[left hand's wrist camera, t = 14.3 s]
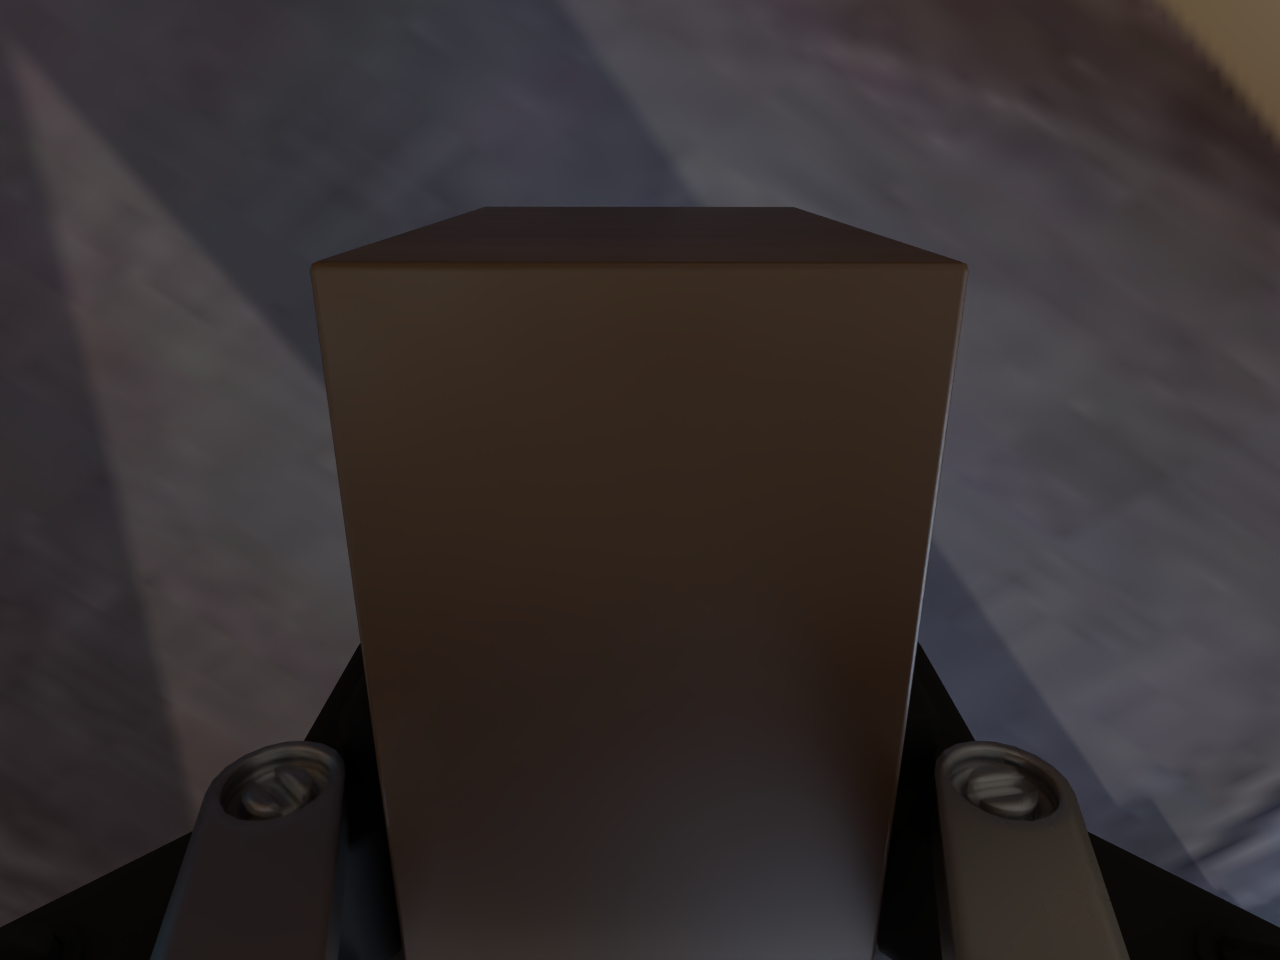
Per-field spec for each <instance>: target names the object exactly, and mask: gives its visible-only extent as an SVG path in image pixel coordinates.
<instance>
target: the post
mask: <svg viewBox="0 0 1280 960" xmlns="http://www.w3.org/2000/svg"><path fill="white" fill-rule="evenodd" d="M968 272H969V271H968V267H967V264H965V263H962V262H960V261H957V260H954V259H951V258H948V257H945V256H942V255H939V254H936V253H933V252H929V251H926V250H923V249H920V248H917V247H914V246H911V245H908V244H905V243H902V242H899V241H896V240H893V239H890V238H887V237H884V236H881V235H877V234H874V233H871V232H868V231H865V230H862V229H859V228H856V227H853V226H850V225H847V224H844V223H841V222H838V221H835V220H832V219H829V218H825V217H822V216H819V215H816V214H813V213H810V212H807V211H804V210H801V209H798V208H795V207H483V208H480V209H477V210H474V211H471V212H468V213H465V214H462V215H459V216H456V217H453V218H449V219H446V220H443V221H440V222H437V223H434V224H431V225H428V226H425V227H422V228H419V229H415V230H412V231H409V232H406V233H403V234H400V235H397V236H394V237H391V238H388V239H385V240H382V241H378V242H375V243H372V244H369V245H366V246H363V247H360V248H357V249H354V250H351V251H348V252H344V253H341V254H338V255H335V256H332V257H329V258H326V259H323V260H320V261H317V262H315V263H313V264H312V265H311V269H310V274H311V281H312V289H313V296H314V303H315V311H316V318H317V326H318V333H319V340H320V348H321V355H322V362H323V370H324V377H325V384H326V392H327V399H328V406H329V414H330V421H331V428H332V436H333V443H334V450H335V458H336V465H337V472H338V480H339V487H340V494H341V502H342V509H343V517H344V524H345V531H346V539H347V546H348V553H349V561H350V568H351V575H352V583H353V590H354V597H355V605H356V612H357V619H358V627H359V634H360V641H361V649H362V656H363V663H364V671H365V678H366V685H367V693H368V700H369V707H370V715H371V722H372V730H373V737H374V744H375V752H376V759H377V766H378V774H379V781H380V788H381V796H382V803H383V810H384V818H385V825H386V832H387V840H388V847H389V854H390V862H391V869H392V876H393V884H394V891H395V898H396V906H397V913H398V921H399V928H400V935H401V943H402V950H403V957H404V960H874V956H875V948H876V941H877V934H878V926H879V919H880V912H881V905H882V897H883V890H884V883H885V876H886V868H887V861H888V854H889V846H890V839H891V832H892V825H893V817H894V810H895V803H896V796H897V788H898V781H899V774H900V766H901V759H902V752H903V745H904V737H905V730H906V723H907V716H908V708H909V701H910V694H911V686H912V679H913V672H914V665H915V657H916V650H917V643H918V635H919V628H920V621H921V614H922V606H923V599H924V592H925V585H926V577H927V570H928V563H929V555H930V548H931V541H932V534H933V526H934V519H935V512H936V505H937V497H938V490H939V483H940V475H941V468H942V461H943V454H944V446H945V439H946V432H947V425H948V417H949V410H950V403H951V395H952V388H953V381H954V374H955V366H956V359H957V352H958V345H959V337H960V330H961V323H962V315H963V308H964V301H965V294H966V286H967V279H968Z"/></svg>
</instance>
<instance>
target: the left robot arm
mask: <svg viewBox="0 0 1280 960" xmlns="http://www.w3.org/2000/svg"><path fill="white" fill-rule="evenodd" d="M0 960H404V957H403V950H402V943H401V935H400V928H399V921H398V913H397V906H396V898H395V891H394V884H393V876H392V869H391V862H390V854H389V847H388V840H387V832H386V825H385V818H384V810H383V803H382V796H381V788H380V781H379V774H378V766H377V759H376V752H375V744H374V737H373V730H372V722H371V715H370V707H369V700H368V693H367V685H366V678H365V671H364V663H363V656H362V649H361V643H360V644H359V646H358V648H357V649H356V651H355V653H354V655H353V656H352V658H351V660H350V662H349V663H348V665H347V667H346V669H345V670H344V672H343V674H342V676H341V677H340V679H339V681H338V683H337V684H336V686H335V688H334V690H333V691H332V693H331V695H330V697H329V698H328V700H327V702H326V703H325V705H324V707H323V709H322V710H321V712H320V714H319V716H318V717H317V719H316V721H315V723H314V724H313V726H312V728H311V730H310V731H309V733H308V735H307V737H306V738H305V740H304V741H292V742H283V743H279V744H274V745H270V746H266V747H263V748H261V749H258V750H256V751H253V752H251V753H249V754H246V755H244V756H243V757H241V758H239V759H238V760H236V761H235V762H233V763H232V764H230V765H228V766H227V767H226V768H225V769H224V770H223V771H222V772H221V773H220V774H219V775H218V776H217V777H216V778H215V779H214V780H213V781H212V783H211V785H210V786H209V788H208V790H207V792H206V793H205V796H204V799H203V802H202V805H201V808H200V811H199V814H198V817H197V820H196V823H195V826H194V829H193V831H192V832H190V833H188V834H186V835H184V836H182V837H180V838H178V839H176V840H174V841H172V842H170V843H168V844H166V845H164V846H162V847H160V848H158V849H156V850H154V851H152V852H150V853H148V854H146V855H144V856H142V857H140V858H138V859H136V860H134V861H132V862H130V863H128V864H126V865H124V866H122V867H120V868H118V869H116V870H114V871H112V872H110V873H108V874H106V875H104V876H102V877H100V878H98V879H96V880H94V881H92V882H90V883H88V884H86V885H84V886H82V887H80V888H78V889H76V890H74V891H72V892H70V893H68V894H66V895H64V896H62V897H60V898H58V899H56V900H54V901H52V902H50V903H48V904H46V905H44V906H42V907H40V908H38V909H36V910H34V911H32V912H30V913H28V914H26V915H24V916H22V917H20V918H18V919H16V920H14V921H12V922H10V923H8V924H6V925H4V926H2V927H0ZM874 960H1280V928H1279V927H1277V926H1275V925H1273V924H1271V923H1269V922H1267V921H1265V920H1263V919H1261V918H1259V917H1257V916H1255V915H1253V914H1251V913H1249V912H1247V911H1245V910H1243V909H1241V908H1239V907H1237V906H1235V905H1233V904H1231V903H1229V902H1227V901H1225V900H1223V899H1221V898H1219V897H1217V896H1215V895H1213V894H1211V893H1209V892H1207V891H1205V890H1203V889H1201V888H1199V887H1197V886H1195V885H1193V884H1191V883H1189V882H1187V881H1185V880H1183V879H1181V878H1179V877H1177V876H1175V875H1173V874H1171V873H1169V872H1167V871H1165V870H1163V869H1161V868H1159V867H1157V866H1155V865H1153V864H1151V863H1149V862H1147V861H1145V860H1143V859H1141V858H1139V857H1137V856H1135V855H1133V854H1131V853H1129V852H1127V851H1125V850H1123V849H1121V848H1119V847H1117V846H1115V845H1113V844H1111V843H1109V842H1107V841H1105V840H1103V839H1101V838H1099V837H1097V836H1095V835H1093V834H1091V833H1089V832H1087V829H1086V826H1085V823H1084V820H1083V817H1082V814H1081V811H1080V808H1079V805H1078V802H1077V799H1076V796H1075V793H1074V792H1073V790H1072V788H1071V786H1070V785H1069V783H1068V781H1067V780H1066V779H1065V778H1064V777H1063V776H1062V775H1061V774H1060V773H1059V772H1058V771H1057V770H1056V769H1055V768H1054V767H1053V766H1052V765H1050V764H1048V763H1047V762H1045V761H1044V760H1042V759H1041V758H1039V757H1037V756H1036V755H1034V754H1031V753H1029V752H1027V751H1024V750H1022V749H1019V748H1017V747H1014V746H1010V745H1006V744H1001V743H997V742H988V741H975V740H974V738H973V736H972V734H971V733H970V731H969V729H968V727H967V726H966V724H965V722H964V720H963V719H962V717H961V715H960V713H959V712H958V710H957V708H956V706H955V705H954V703H953V701H952V699H951V698H950V696H949V694H948V692H947V691H946V689H945V687H944V685H943V684H942V682H941V680H940V678H939V677H938V675H937V673H936V671H935V670H934V668H933V666H932V664H931V663H930V661H929V659H928V657H927V656H926V654H925V652H924V650H923V649H922V647H921V645H920V644H919V643H917V650H916V657H915V665H914V672H913V679H912V686H911V694H910V701H909V708H908V716H907V723H906V730H905V737H904V745H903V752H902V759H901V766H900V774H899V781H898V788H897V796H896V803H895V810H894V817H893V825H892V832H891V839H890V846H889V854H888V861H887V868H886V876H885V883H884V890H883V897H882V905H881V912H880V919H879V926H878V934H877V941H876V948H875V956H874Z"/></svg>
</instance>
